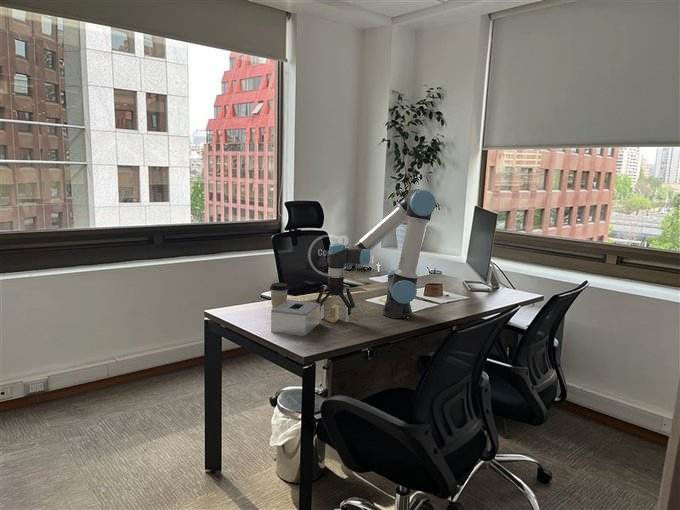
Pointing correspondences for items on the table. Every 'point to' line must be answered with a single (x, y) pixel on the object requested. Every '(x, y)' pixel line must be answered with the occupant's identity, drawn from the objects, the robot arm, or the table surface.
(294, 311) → the box
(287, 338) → the table surface
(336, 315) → the token
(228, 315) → the table surface
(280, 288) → the coffee cup
